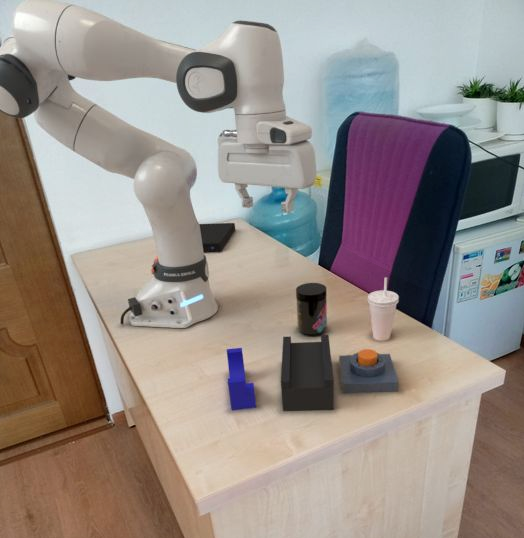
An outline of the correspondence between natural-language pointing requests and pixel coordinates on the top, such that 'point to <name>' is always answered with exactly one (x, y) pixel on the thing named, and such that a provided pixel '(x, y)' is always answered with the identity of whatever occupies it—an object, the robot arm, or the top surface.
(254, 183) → the robot arm
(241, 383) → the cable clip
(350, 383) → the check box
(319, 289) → the supplement container
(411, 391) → the top surface
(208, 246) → the external hard drive
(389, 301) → the smoothie
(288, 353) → the inspection stand
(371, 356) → the button
